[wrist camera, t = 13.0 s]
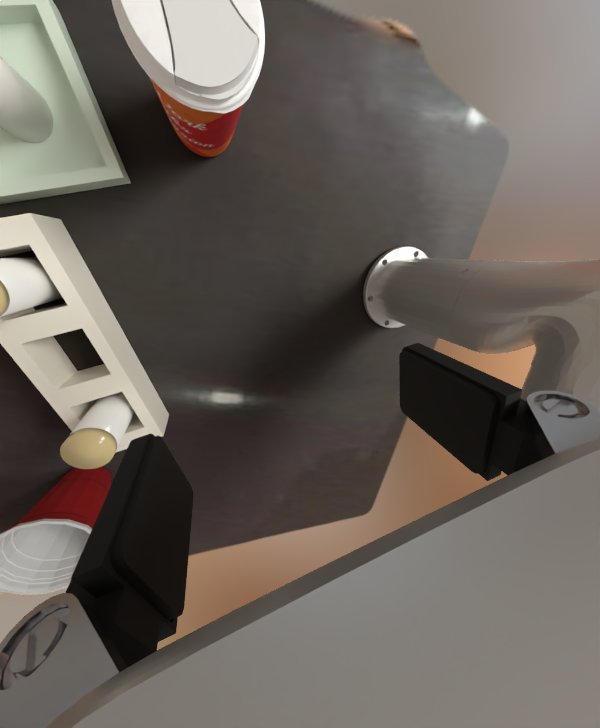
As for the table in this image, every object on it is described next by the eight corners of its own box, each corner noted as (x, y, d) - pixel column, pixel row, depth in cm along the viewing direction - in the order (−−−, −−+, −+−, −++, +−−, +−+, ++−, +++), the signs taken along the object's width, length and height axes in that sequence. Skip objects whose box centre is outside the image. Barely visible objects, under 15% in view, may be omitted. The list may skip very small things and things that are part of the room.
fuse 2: (131, 378, 34) (99, 427, 25) (146, 404, 36) (122, 459, 27) (96, 388, 33) (49, 443, 24) (113, 414, 35) (76, 475, 26)
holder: (60, 219, 26) (29, 212, 22) (169, 414, 38) (163, 435, 33) (-36, 236, 24) (-90, 233, 20) (109, 434, 36) (95, 459, 32)
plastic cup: (132, 448, 38) (101, 522, 28) (131, 500, 42) (103, 583, 31) (38, 449, 34) (-38, 536, 24) (46, 507, 38) (-18, 605, 27)
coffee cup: (138, 86, 24) (48, -109, 11) (215, 51, 25) (216, -174, 12) (192, 185, 28) (174, 128, 15) (256, 153, 29) (293, 71, 16)
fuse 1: (56, 252, 27) (-31, 253, 17) (80, 293, 29) (15, 314, 19) (9, 262, 26) (-110, 268, 16) (37, 303, 28) (-54, 330, 18)
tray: (59, 11, 21) (41, -17, 19) (131, 183, 26) (123, 177, 24) (-120, 18, 19) (-164, -12, 17) (-1, 204, 24) (-22, 199, 22)
